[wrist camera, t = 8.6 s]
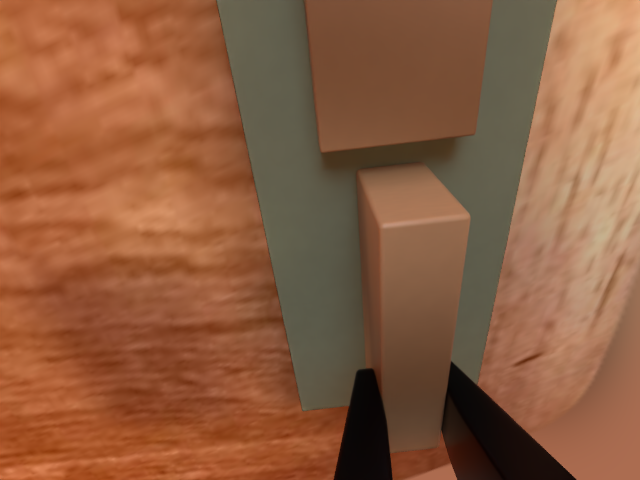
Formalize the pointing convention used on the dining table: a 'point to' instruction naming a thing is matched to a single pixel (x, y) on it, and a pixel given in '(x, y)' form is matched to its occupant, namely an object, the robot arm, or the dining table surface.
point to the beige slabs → (403, 181)
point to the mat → (341, 183)
